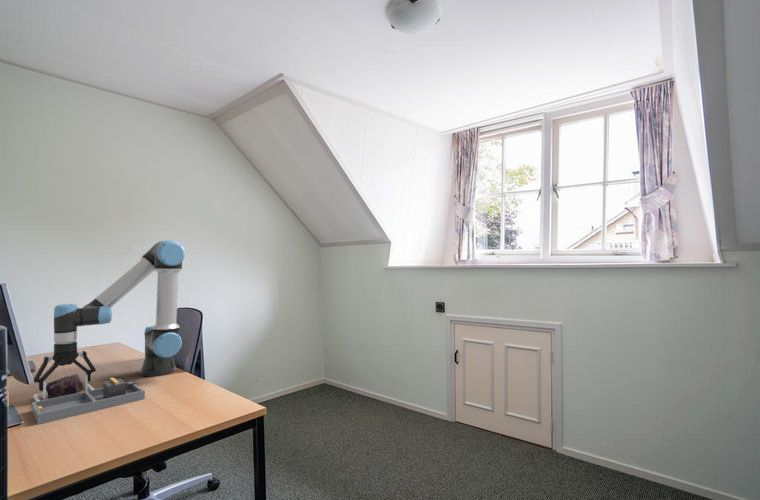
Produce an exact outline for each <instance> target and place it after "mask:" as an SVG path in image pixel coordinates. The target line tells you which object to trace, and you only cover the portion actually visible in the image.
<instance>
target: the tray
mask: <svg viewBox="0 0 760 500" xmlns="http://www.w3.org/2000/svg"><path fill="white" fill-rule="evenodd" d="M83 388H84V384H83ZM94 389H95V388H94V386H92V385H91V384H90V383H88V391H90V390H94ZM46 397H48V393H47V391H46ZM40 398H42V392H41V393H35V394H33V400H34V402H37V401H41V400H40Z"/></svg>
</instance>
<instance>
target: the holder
mask: <svg viewBox="0 0 760 500" xmlns="http://www.w3.org/2000/svg"><path fill="white" fill-rule="evenodd" d="M145 396H146V395H145V390H144V389H143V388H142V387H140V386H139V385H137V381H136V380H132V381H124V380H123V379H121V378H115V377H110V378H109V380H107V381H103V383H102V387H99V388H94V390H87V391H85V390H84V391H80V392H78V393H75V394H70V395H66V396H61V397H56V398H51V399H49V398H46V399H42V400H40V401H37V402H35V401H32V402H31V413H32V415H33V416H34V418H35V422H36V423H37V425H42V424H45V423H49V422H53V421H54V422H55V421H58V420H61V419H62V420H63V419H66V418H69V417H74V416H79V415H83V414H86V413H91V412H95V411H99V410H104V409H107V408H112V407H117V406H120V405H124V404H128V403H134V402H137V401H141V400H145Z"/></svg>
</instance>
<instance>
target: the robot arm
mask: <svg viewBox="0 0 760 500" xmlns="http://www.w3.org/2000/svg"><path fill="white" fill-rule="evenodd" d="M185 257H186V250H185V248H184V246H183V245H182V244H181V243H179V242H178V241H176V240H171V239H170V240H162V241H158V242H157V243H155V244H154V245H152V246H151V247H150V248H149V249H148V250H147V252H145V253H144V254H143V255H142V256H141V257H140V260H139V261H138V262H137V263H136V264H135V265H133V266H132V267H131V268H130V269H128V270H127V271H125V273H123V275H122V276H120V277H119V278H118V279H117V280H116V281H114V282H113V283H112V284H111V285H109V286H108V287H107V288H106V289H105V290H103V291H102V292H101V293H99V295H97V296H96V297H95V298H94V299H93V300H91V301H90V302H89V303H87V304H85V305H84V306H83V307H82V308H80V307H78V305H77V304H76V303H63V304H57V305H56V306H54V309H53V310H54V311H53V343H54V344H53V355H52V356H46V355H45V356H44V357H43V361H42V363H41V365H40V367H39V368H38V370H37V371H36V374H35V375H34V377H33V378H32V380H33V379H34V381H33V383H38V390H39V391H40V392H41V393H42V397H41V398H42V400H46V399H47V396H46V392H47V391H46V385H47V382H46V380H47V378H49V376H50V375H51V374H52V373H53V372H54V371H55V370H56V369H57V368H58V367H59V366H61V367H63V366H69V365H72V364H75V365H76V366H77V367H78V368H79V369H81V370H82V371H83V372H85V373H83V385H84V389H83V391H84V392H85V391H89V389H88V384H89V383H90V382H91V379H92V378H91V377H92V376H91V375H92V373H95V372H96V371H97V369H96V368H95V366H94V365H93V363H92V361H91V360H90V359H89V357H88V354H87V353H88V352H87V351H85V350H82V351H80V352H78V342H77V340H78V327H84V326H94V325H95V326H97V325H101V326H102V325H107V324H111V321H112V317H113V316H112V315H113V312H112V307H114V306H115V305H116V304H117V303H118V302H120V301H121V299H122V298H124V297H125V296H127V294H129V293H130V292H131V291H132V290H133V289H134V288H136V287H137V286H138V285H139V284H140V283H141V282H142V281H144V280H145V279H146V278H147V277H148V276H150V274H152V273H153V272H157V287H156V310H155V311H156V313H155V324H154V325H153V326H147V327H145V329H144V359H143V363H142V365H141V368H140V376H142V377H159V376H164V375H169V374H172V373H174V372H176V368H177V367H176V364H175V360H174V358H173V356H174V355H176V354H178V352H179V351H180V350H181V348H182V343H183V341H182V337H181V335H180V328H181V327H180V325H179V324H178V323H177V319H178V318H177V317H178V291H179V290H178V286H179V282H178V281H179V272H181V271H182V270H183V262H184V260H185ZM79 356H80V357H81V358H83V360H84V362H85V363H86V364H87V366H88V368H90V369H88V368H86V367H85V366H84V365H83V364H81V362H79V361H78V360H76V359H77V358H78V357H79ZM51 360H53V362H54V363H52V365H51V366H50V367H49V368H48V370H46V371H45V369H46V367H47V366H48V363H50V362H51ZM44 371H45V372H44ZM43 372H44V373H43ZM42 374H43V375H42Z"/></svg>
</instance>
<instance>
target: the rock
mask: <svg viewBox="0 0 760 500" xmlns="http://www.w3.org/2000/svg"><path fill="white" fill-rule="evenodd" d="M83 385H84V382H82V380H81V379H80V376H79V375H78V374H77V373H75V374H72V375H69V376H64V377H63V378H60V379H57V380H54V381H51V382H47V383H46V392H47V393H48V396H47V399H51V398H56V397H61V396H66V395H70V394H75V393H80V392H82V391H84V388H83Z"/></svg>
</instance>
